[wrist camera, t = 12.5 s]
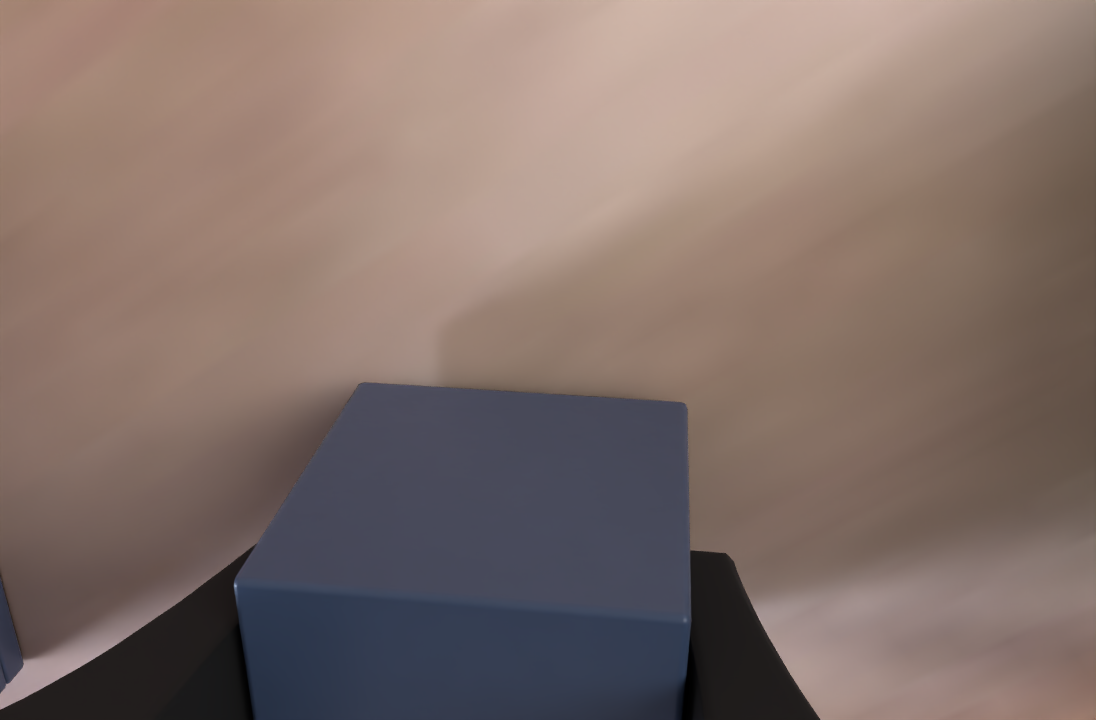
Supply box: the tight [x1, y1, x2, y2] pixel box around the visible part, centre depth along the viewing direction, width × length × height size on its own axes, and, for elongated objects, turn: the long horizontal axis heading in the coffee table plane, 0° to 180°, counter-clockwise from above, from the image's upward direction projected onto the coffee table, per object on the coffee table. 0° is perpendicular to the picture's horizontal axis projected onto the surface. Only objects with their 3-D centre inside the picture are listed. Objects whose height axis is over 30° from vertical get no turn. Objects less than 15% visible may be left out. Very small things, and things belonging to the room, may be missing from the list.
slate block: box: [234, 382, 691, 720], centre depth 13 cm, size 4×4×4 cm
